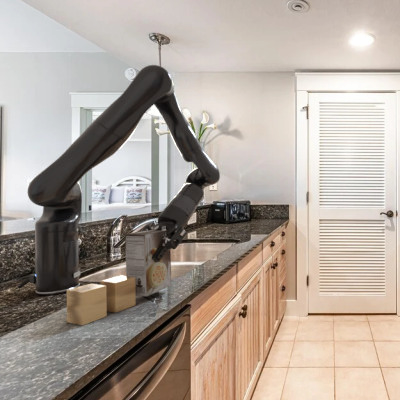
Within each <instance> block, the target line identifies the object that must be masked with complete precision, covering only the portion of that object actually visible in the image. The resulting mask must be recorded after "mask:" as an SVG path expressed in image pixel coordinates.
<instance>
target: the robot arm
mask: <svg viewBox="0 0 400 400" xmlns="http://www.w3.org/2000/svg"><path fill="white" fill-rule="evenodd" d="M174 87H175V86H174V82H173V78H172V76H171V74H170V72H169V71H168V70H167V69H166V68H164V67H163V66H161V65H158V64H148V65H145V66H144V67H143V68H141V69H140V70H139V71H138V72H137V74H136V76H134V78H133V79H132V80H131V82H130V83H129V85H128V86H127V87H126V89H125V90H124V91H123V93H121V94H120V95H119V96H118V98H116V99H115V100H114V101H113V102H112V103H110V105H109V106H107V107H106V108H105V110H103V111H102V112H101V113H100V115H98V116H97V117H96V118H95V119H94V120H93V121H92V122H91V123H90V124H89V126H87V127H86V128H85V130H84V131H82V133H81V134H80V135H79V136H78V137H77V138H76V139H75V140H74V141H73V142H72V143H71V145H69V147H68V148H67V149H66V150H65V151H64V152H63V153H62V154H61V155H60V156H59V157H57V159H55V161H53V162H52V163H51V164H50V165H48V166H47V167H46V168H45V169H44V170H42V171H41V172H40V173H38V174H37V175H36V176H35V177H34V178H33V179H32V180H31V181H30V182H29V184H28V186H27V197H28V199H29V200H30V202H31V203H33V205H36V206H39V207H42V214H41V216H40V217H39V219H38V220H36V221H35V223H34V242H35V243H34V246H35V249H34V250H35V259H34V273H32V274H29V278H27V279H25V280H24V281H22V282H21V283H19V285H18V286H17V288H18V289H22V288H23V287H24V286H25V285H27V284H35V286H34V287H35V295H38V296H49V295H50V296H52V295H59V294H64V293H67V290H69V289H73V288H76V287H80V286H81V285H80V284H81V283H80V276H81V270H80V247H79V246H80V244H79V243H80V241H79V240H80V239H79V224H80V222H81V220H82V219H81V218H82V207H83V206H82V205H83V191H82V187H81V185H80V183H79V182H80V180H81V179H82V178H83V177H84V176H85V175H86V174H87V173H89V172H90V171H91V170H92V169H94V168H95V167H97V166H98V165H100V164H101V163H103V162H105V161H106V160H108V159H109V158H111V157H112V156H114V155H115V154H116V153H117V152H118V151H119V150H120V149H121V148H122V147H123V146H124V145H125V144H126V143H127V142H128V140H129V139H130V138H131V137H132V135H133V134H134V132H135V130H137V128H138V125H139V124H140V122H141V120H142V118H143V117H144V115H145V114H146V113H147V111H149V109H150V108H152V107H153V106H155V108H156V110H158V112H159V114H160V116H161V117H162V120H163V121H164V122H165V125H166V127H167V129H168V131H169V133H170V136H171V138H172V140H173V142H174V145H175V146H176V148H177V150H178V152H179V153H180V156H181V157H182V160H184V162H186V163H192V164H194V166H195V167H196V168H193V169H192V170H191V171H190V172H189V173H188V175H187V177H186V178H185V181H184V184H183V186H182V187H181V188H180V189H179V191H178V192H177V194H176V195H175V196H174V197H173V198H172V199H171V200H170V201H169V202H168V204H167V205H166V206H165V207H164V209H163V210H162V211H161V213H160V214H159V215H158V217H157V223H156V224H155V225H154V226H150V225H145V226H144V228H143V229H142V230H141V231H147V230H162V231H166V230H169V231H168V232H167V233H166V232H165V234H164V236H163V237H162V242H161V246H159V248H158V249H157V250H156V252H155V253H154V255H153V256H152V259H153V260H154V261H155V262H159V261H160V260H161V259H162V258H163V256H164V255H165V253H166V252H167V251H169V250H170V251H171V250H176V249H177V248H178V246H179V245H180V244H181V243H182V241H183V240H184V238H185V237H186V235H187V234H188V232H187V231H186V230H185V227H186V226H187V224H188V223H189V221H190V220H191V218H192V217H193V215H194V214H195V211H196V210H197V208H198V207H199V205H200V203H201V202H202V201H203V199H204V197H205V192H204V190H205V188H208V187H210V186H214V185H216V184H217V183H219V182H220V179H221V172H220V170H219V167H218V166H217V164H216V163H215V161H213V159H212V158H211V157H210V156H209V155H208V154H207V153H206V152H205V150H204V148H203V146H202V145H201V142H200V140H199V139H198V136H197V135H196V133H195V131H194V129H193V128H192V126H191V124H190V123H189V121H188V120H187V118H186V116H185V115H184V113H183V111H182V108H181V107H180V104H179V101H178V99H177V96H176V93H175V90H174V89H175V88H174ZM166 235H167V236H166ZM167 237H168V238H167ZM169 239H170V240H169Z"/></svg>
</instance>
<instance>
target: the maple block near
mask: <svg viewBox="0 0 400 400" xmlns="http://www.w3.org/2000/svg"><path fill="white" fill-rule="evenodd" d="M107 314H108V311H107V303H106V286H105V285H101V284H97V283H88V284H83V285H80V287H76V288H73V289H69V290H67V292H66V323H70V324H74V325H79V326H86V325H88V324H91V323H93V322H95V321H99V320H100V319H103V318H106V317H108V316H107Z"/></svg>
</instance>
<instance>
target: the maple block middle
mask: <svg viewBox="0 0 400 400" xmlns="http://www.w3.org/2000/svg"><path fill="white" fill-rule="evenodd" d="M99 283H100V285H105V286H106V303H107V312H108V313H115V314H117V313H119V312H121V311H124V310H126V309H129V308H131V307H132V308H133V307H134V306H136V296H135V277H129V276H126V275H117V276H113V277H109V278H105V279H103V280H100V281H99Z"/></svg>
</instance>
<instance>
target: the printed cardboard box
mask: <svg viewBox="0 0 400 400" xmlns="http://www.w3.org/2000/svg"><path fill="white" fill-rule="evenodd" d="M168 231H169V230H166V231H162V230H147V231H142V230H141V231H136V232H130V233H125V234H124V241H125V242H124V245H125V272H126V273H125V276H129V277H135V297H136V296H137V297H148V296H149V297H150V296H151V295H153V294H156V293H158V292H159V291H162V290H164V289H166V288H168V287H171V286H172V257H171V255H172V254H171V253H172V252H171V249H170V250H169V251H167V252H166V253H165V255H164V256H163V258H162V259H161V260H160V261H159V262H155V261H154V260H153V259H152V256H153V255H154V253H155V252H156V250H157V249H158V248H159V246H161V242H162V237H163V236H164V234H165V232H166V233H167V232H168ZM166 236H167V235H166ZM167 238H168V237H167ZM169 240H170V239H169Z"/></svg>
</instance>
